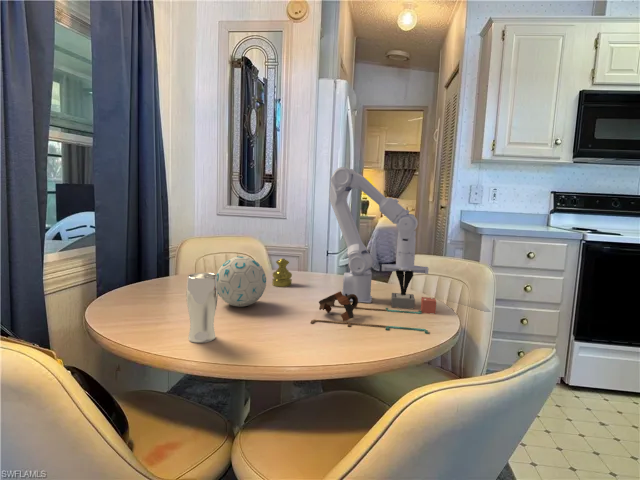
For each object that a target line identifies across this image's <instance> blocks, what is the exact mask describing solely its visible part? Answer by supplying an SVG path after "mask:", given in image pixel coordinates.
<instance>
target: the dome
mask: <svg viewBox="0 0 640 480" xmlns="http://www.w3.org/2000/svg"><path fill="white" fill-rule="evenodd" d="M397 293H398V294H396V297H397V298H410V295H409V294H410V293H406V295H401V292H397Z"/></svg>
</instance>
